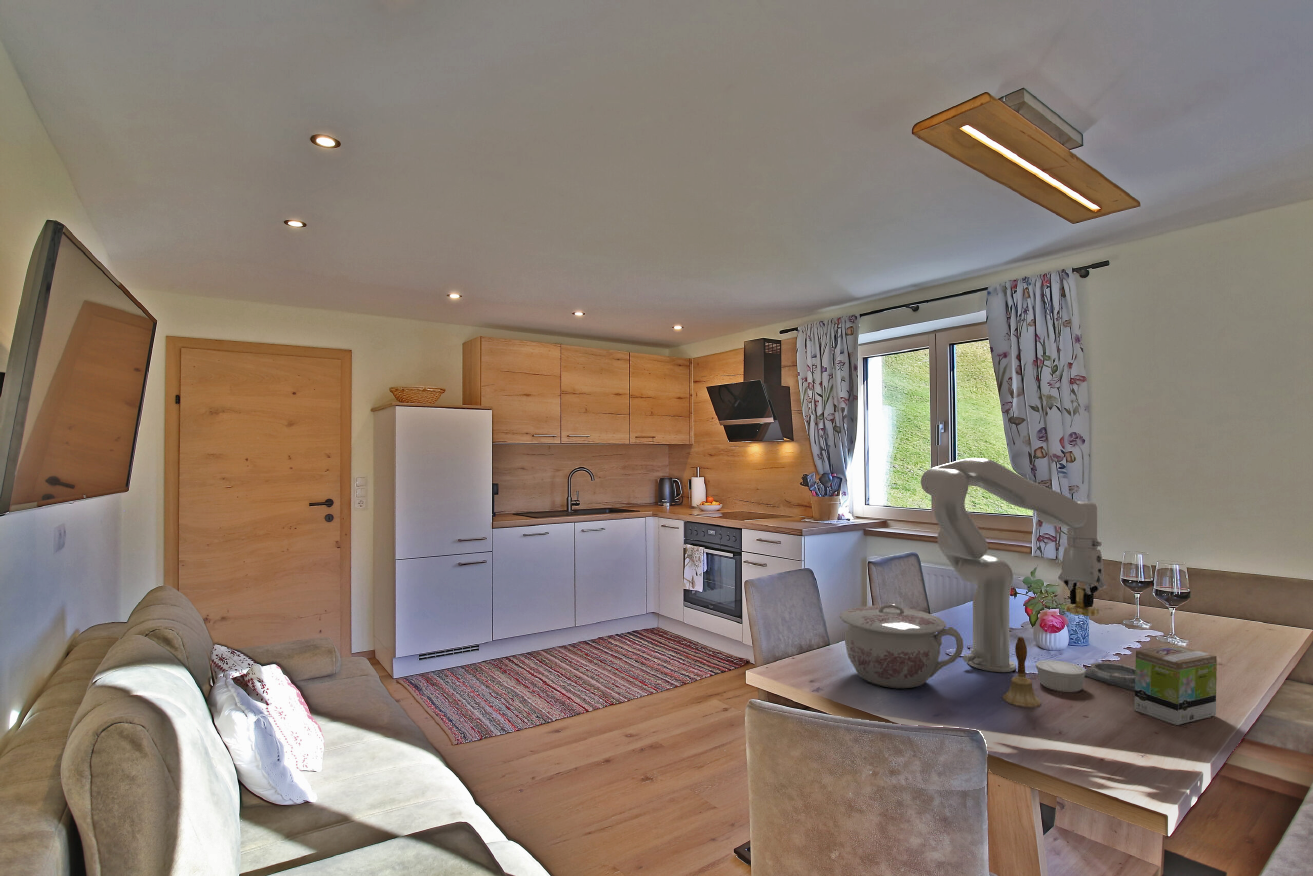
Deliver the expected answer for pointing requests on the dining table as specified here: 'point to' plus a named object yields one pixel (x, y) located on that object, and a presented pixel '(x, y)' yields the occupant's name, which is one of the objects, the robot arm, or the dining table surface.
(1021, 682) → the hand bell
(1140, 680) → the tea box
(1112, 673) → the tray
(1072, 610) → the planet gear
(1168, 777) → the dining table surface
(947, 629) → the chamber pot
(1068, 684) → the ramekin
